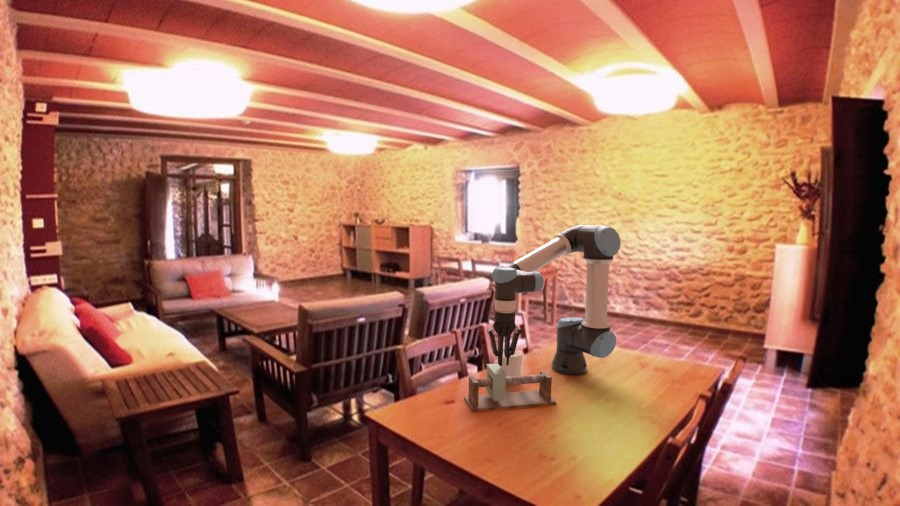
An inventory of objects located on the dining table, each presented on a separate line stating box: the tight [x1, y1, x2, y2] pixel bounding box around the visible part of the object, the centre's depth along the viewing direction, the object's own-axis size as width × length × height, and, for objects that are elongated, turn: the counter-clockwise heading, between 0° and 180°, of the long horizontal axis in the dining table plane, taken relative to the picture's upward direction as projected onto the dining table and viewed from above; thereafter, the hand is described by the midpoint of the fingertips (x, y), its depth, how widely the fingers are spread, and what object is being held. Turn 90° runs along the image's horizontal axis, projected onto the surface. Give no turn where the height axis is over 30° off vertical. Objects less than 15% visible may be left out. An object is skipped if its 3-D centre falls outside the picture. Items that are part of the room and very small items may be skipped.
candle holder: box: [503, 348, 524, 377], centre depth 185 cm, size 10×10×12 cm
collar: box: [485, 363, 507, 401], centre depth 163 cm, size 4×10×10 cm, turn 13°
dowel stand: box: [463, 370, 557, 413], centre depth 165 cm, size 32×11×10 cm, turn 103°
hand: (502, 373), depth 163 cm, fingers closed
